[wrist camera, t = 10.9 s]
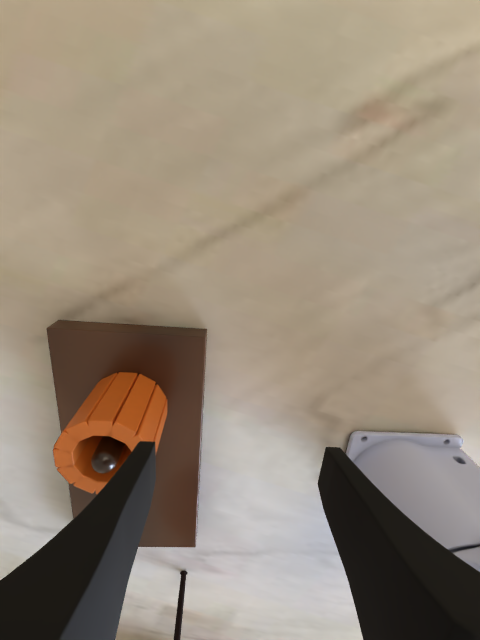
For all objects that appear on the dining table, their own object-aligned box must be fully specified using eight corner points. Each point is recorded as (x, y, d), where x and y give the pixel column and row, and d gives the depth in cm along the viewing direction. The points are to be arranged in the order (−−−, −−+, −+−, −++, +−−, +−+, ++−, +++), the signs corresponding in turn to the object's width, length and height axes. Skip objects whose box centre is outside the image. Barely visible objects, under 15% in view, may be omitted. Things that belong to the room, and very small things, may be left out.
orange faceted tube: (167, 373, 21) (150, 422, 16) (167, 436, 22) (152, 496, 18) (88, 370, 20) (47, 418, 16) (94, 433, 22) (59, 494, 17)
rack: (207, 328, 21) (199, 383, 15) (196, 530, 28) (188, 630, 21) (58, 319, 21) (-22, 373, 14) (84, 529, 27) (39, 632, 21)
